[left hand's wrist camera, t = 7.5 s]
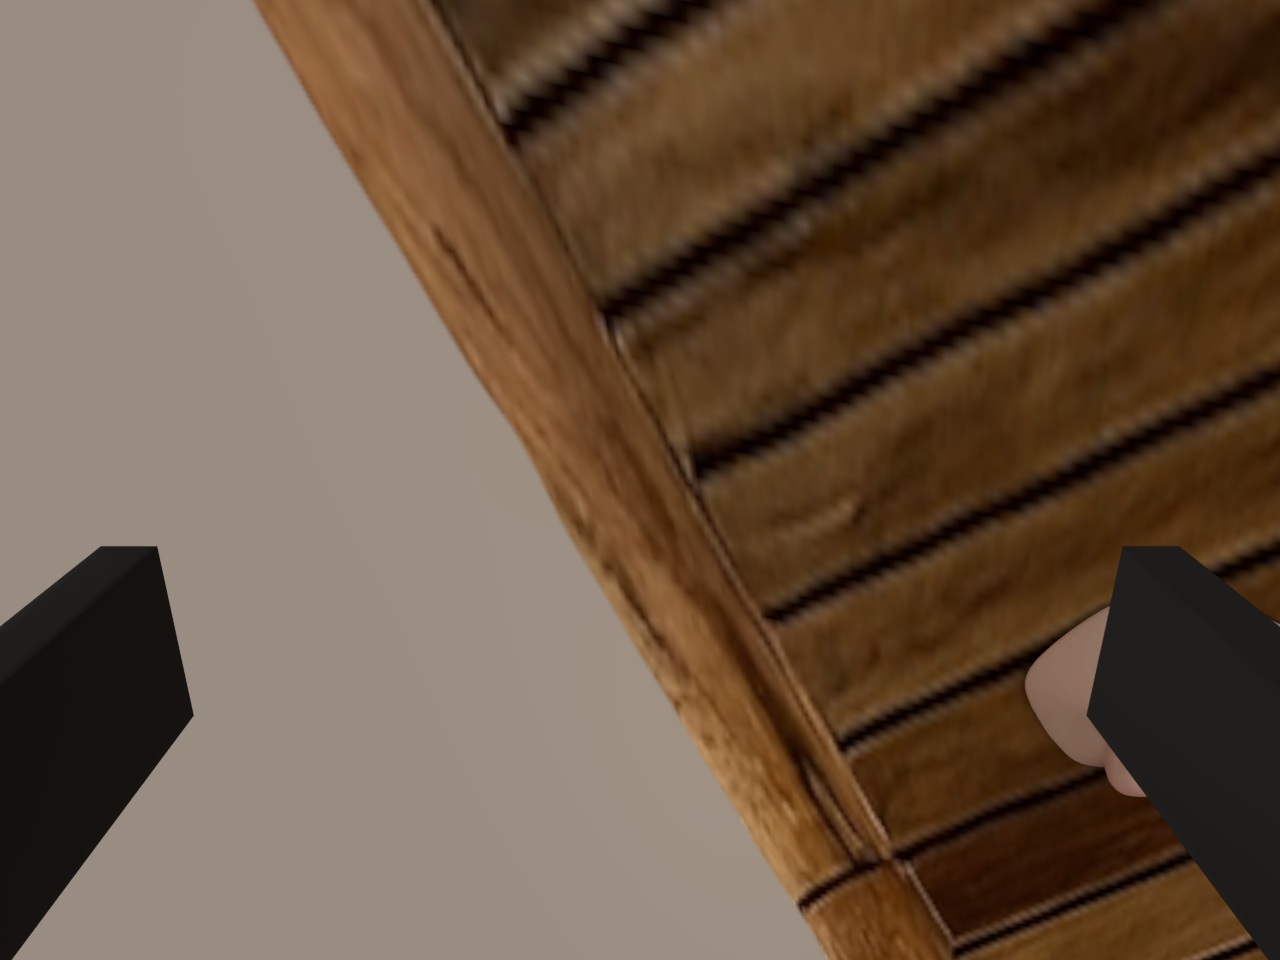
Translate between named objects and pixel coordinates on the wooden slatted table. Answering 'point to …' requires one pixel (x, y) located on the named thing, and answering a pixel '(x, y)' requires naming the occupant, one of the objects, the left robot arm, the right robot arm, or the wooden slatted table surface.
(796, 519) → the wooden slatted table surface
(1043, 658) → the anatomical model
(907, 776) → the wooden slatted table surface
